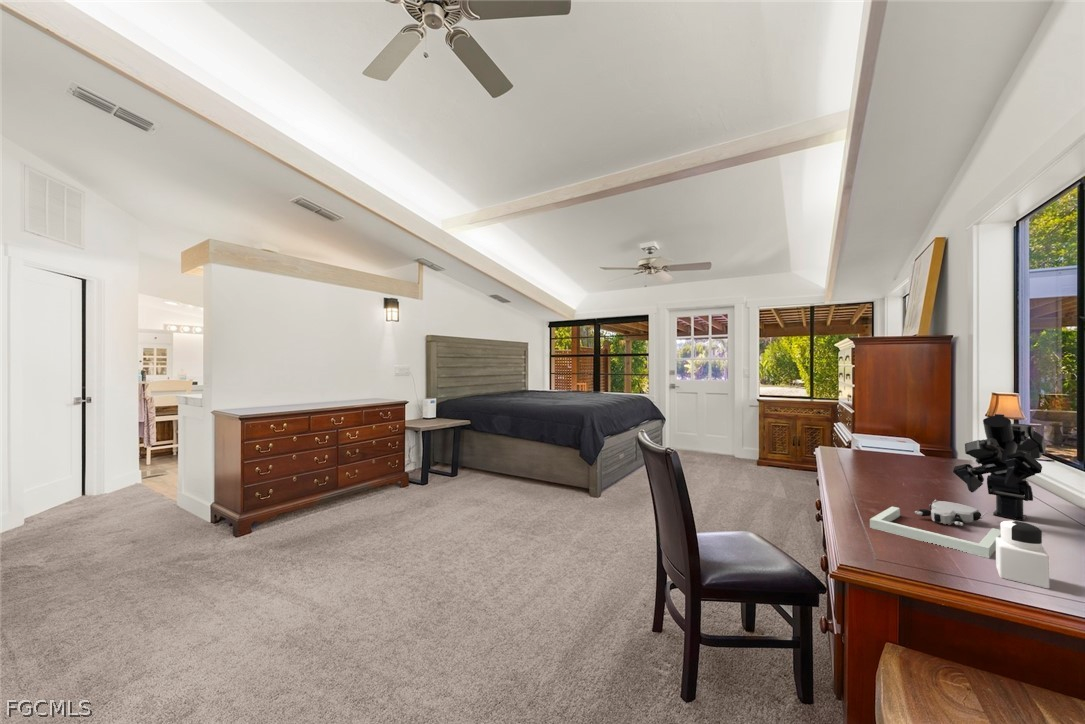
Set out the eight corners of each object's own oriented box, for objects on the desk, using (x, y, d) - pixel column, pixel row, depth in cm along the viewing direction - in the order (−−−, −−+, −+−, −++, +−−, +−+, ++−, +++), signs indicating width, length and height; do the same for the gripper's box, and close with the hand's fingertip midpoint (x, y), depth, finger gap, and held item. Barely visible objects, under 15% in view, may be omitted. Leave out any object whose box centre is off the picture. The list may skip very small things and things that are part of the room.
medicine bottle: (1043, 577, 93) (1042, 523, 93) (1049, 589, 87) (1048, 532, 88) (995, 566, 98) (995, 515, 98) (999, 578, 92) (998, 523, 93)
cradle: (892, 514, 133) (891, 506, 133) (1003, 539, 113) (1003, 530, 113) (869, 527, 121) (869, 519, 121) (989, 558, 102) (988, 548, 102)
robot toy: (964, 535, 118) (989, 523, 124) (963, 519, 118) (988, 508, 124) (911, 521, 129) (937, 510, 135) (910, 506, 129) (936, 497, 135)
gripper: (944, 442, 136) (930, 473, 129) (1012, 424, 119) (1000, 458, 112) (975, 468, 133) (962, 501, 126) (1048, 453, 117) (1038, 490, 110)
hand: (988, 488), depth 119 cm, fingers open, 9 cm apart
